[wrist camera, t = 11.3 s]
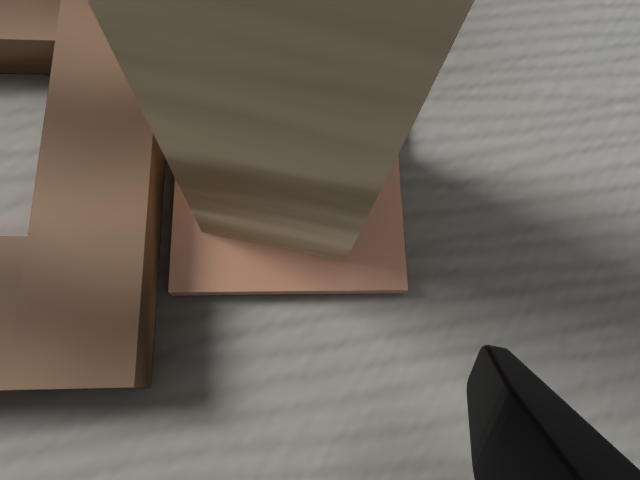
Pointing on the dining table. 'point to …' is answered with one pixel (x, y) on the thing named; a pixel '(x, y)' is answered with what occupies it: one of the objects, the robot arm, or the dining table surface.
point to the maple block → (281, 104)
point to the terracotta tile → (290, 257)
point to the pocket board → (80, 214)
